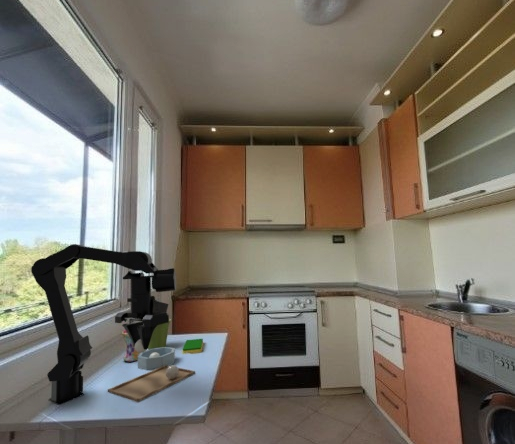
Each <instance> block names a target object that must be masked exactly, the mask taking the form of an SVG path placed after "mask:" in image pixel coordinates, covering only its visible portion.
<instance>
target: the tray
mask: <svg viewBox="0 0 515 444" xmlns="http://www.w3.org/2000/svg"><path fill="white" fill-rule="evenodd" d="M169 366H170V365H168V366H167V365H165V366H163V367H160V368H158V369H152V370H150V371H148V372H145V373H143V374H142V375H139V376H136V377H134V378H132V379H130V380H127V381H125V382H122V383H120V384H118V385H115V386H112V387H110V388H108V389H107V393H109V394H113V395H115V396H118V397H121V398H124V399H127V400H131V401H133V402H136V403H139V402H141V401H143V400H145V399H147V398H149V397H151V396H153V395H155V394H157V393H159V392H161V391H163V390H165V389H167V388H170V387H171V386H173V385H175V384H177V383H179V382H181V381H183V380H185V379H187V378H188V377H189V378H190V377H191V376H193V375H195V374H196V371H195V370H190V369H186V368H181V367H178V370H179V373H178V375H177V377H176V378H174V379H168V378H167V376H166V370H167V368H168V367H169Z"/></svg>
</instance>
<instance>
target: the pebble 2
mask: <svg viewBox="0 0 515 444" xmlns="http://www.w3.org/2000/svg"><path fill="white" fill-rule="evenodd" d="M168 366H169V367H168V368H167V370H166V376H167V378H168V379H174V378H176V377H177V375H178V373H179V370H178V368H179V367H178V366H176V365H175V364H171V365H168Z"/></svg>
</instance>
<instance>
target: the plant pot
mask: <svg viewBox="0 0 515 444" xmlns="http://www.w3.org/2000/svg"><path fill="white" fill-rule="evenodd" d="M171 321H172V319H171V318H169V322H168V323H164V324H160V325H158V326H157V327H156V328H155V329H154V331H153V334H152V337H151V340H150V343H149V347H148V349H147V350H150V349H153V348H161V347H167V342H168V341H167V340H168V333H169V327H170V322H171Z"/></svg>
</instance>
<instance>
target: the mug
mask: <svg viewBox="0 0 515 444" xmlns="http://www.w3.org/2000/svg"><path fill="white" fill-rule="evenodd" d="M121 335H122V336H123V339H124V343H125V353H124V356H123V357H122V360H123V361H125V362H131V363H132V362H138V356H139V354H140V353H139V352H137V351H136V350H135V346H134V344H133V342H132V340H131V338H130V337H129V335H128V333H127V331H126V330H125V329H124V330H122V331H121ZM140 339H141V338H140Z"/></svg>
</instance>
